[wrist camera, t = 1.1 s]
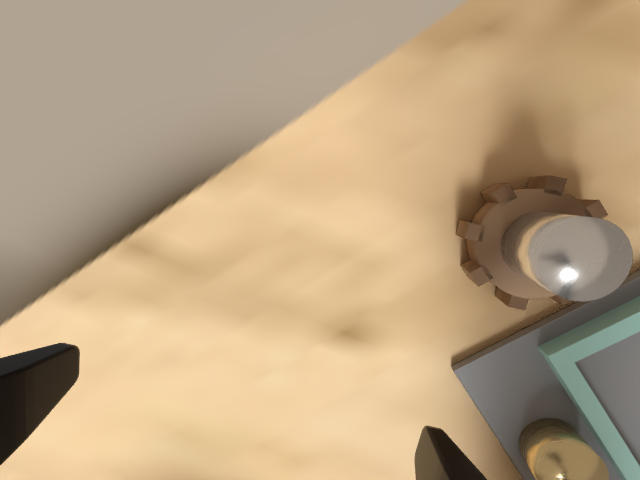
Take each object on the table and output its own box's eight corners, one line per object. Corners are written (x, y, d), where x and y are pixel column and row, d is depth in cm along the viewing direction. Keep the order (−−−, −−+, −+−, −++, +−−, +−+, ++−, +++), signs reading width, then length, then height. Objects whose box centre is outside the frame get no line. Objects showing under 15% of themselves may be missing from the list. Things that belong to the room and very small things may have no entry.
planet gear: (611, 258, 19) (719, 288, 13) (495, 320, 21) (546, 371, 15) (546, 152, 19) (627, 134, 13) (432, 221, 20) (459, 234, 14)
